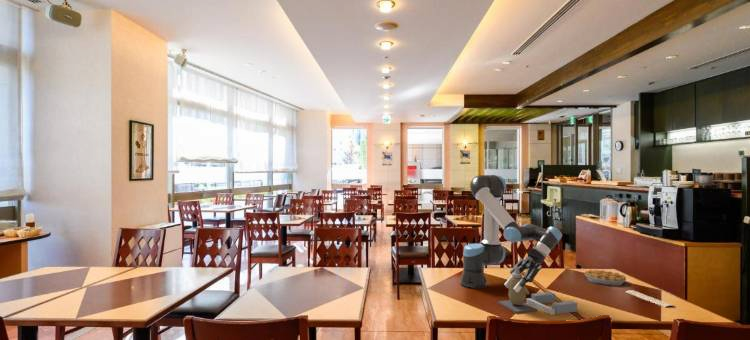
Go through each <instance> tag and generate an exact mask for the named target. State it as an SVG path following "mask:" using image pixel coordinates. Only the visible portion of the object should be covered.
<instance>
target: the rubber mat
mask: <svg viewBox="0 0 750 340" xmlns="http://www.w3.org/2000/svg"><path fill="white" fill-rule="evenodd" d="M497 305H500V306H502V307H503V308H505V309H507V310H508V311H511V312H513V313H514V314H517V315H518V314H523V313H524V314H525V313H533V312H538V309H539V308H537V307H535V306H533V305H531V304H529V303H527V302H526V301H524V304H522V305H516V304H512V303H511V301H510V299H509V300H499V301H497Z"/></svg>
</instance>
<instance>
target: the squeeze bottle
mask: <svg viewBox="0 0 750 340" xmlns="http://www.w3.org/2000/svg"><path fill="white" fill-rule="evenodd" d="M522 277H523V274H522V272H521V273H520V272H519V267H518V266H516V268H515V272H514V273H512V277H511V278H510V284H509V288H508V295H507V296H508V298H509V300H510V301H511V303H512V304H516V305H522V304H524V302H526V301H525V300H526V298H527V296H526V292H525V287H526V284H525V285H524V286H523V287H522V288H521V289H520V291H519V292H518V293H517V292H516V291H515V290H514V287H515V286H516V285H517V283H518V282H519V281H520V280H521V278H522ZM522 279H523V278H522Z"/></svg>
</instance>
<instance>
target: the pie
mask: <svg viewBox="0 0 750 340" xmlns="http://www.w3.org/2000/svg"><path fill="white" fill-rule="evenodd" d="M584 275H585V277H586V278H587V280H588V281H589V282H592V283H595V284H599V285H604V286H622V285H623V284H624V283H625V282H626V280H627V277H626V276H625V275H623V274H620V273H619V272H612V271H606V270H602V269H601V270H598V269H594V270H592V269H590V270H585V272H584Z"/></svg>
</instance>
